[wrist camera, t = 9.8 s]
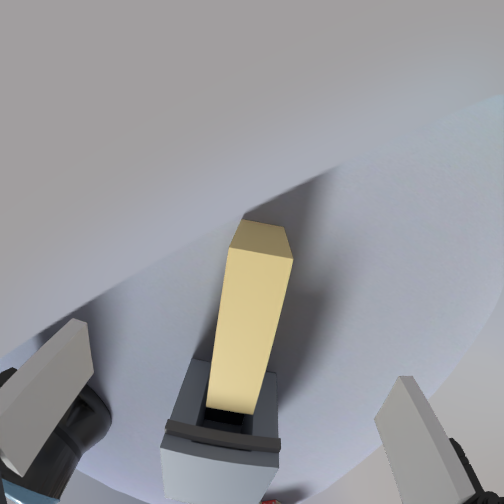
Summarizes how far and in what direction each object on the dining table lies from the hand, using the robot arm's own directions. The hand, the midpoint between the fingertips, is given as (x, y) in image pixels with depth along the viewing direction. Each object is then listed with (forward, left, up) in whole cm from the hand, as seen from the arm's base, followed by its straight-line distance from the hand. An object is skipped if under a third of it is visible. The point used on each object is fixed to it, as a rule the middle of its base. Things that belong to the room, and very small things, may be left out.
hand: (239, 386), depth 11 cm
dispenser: (0, -20, -19) cm, 27 cm away
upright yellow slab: (0, -4, -19) cm, 19 cm away
